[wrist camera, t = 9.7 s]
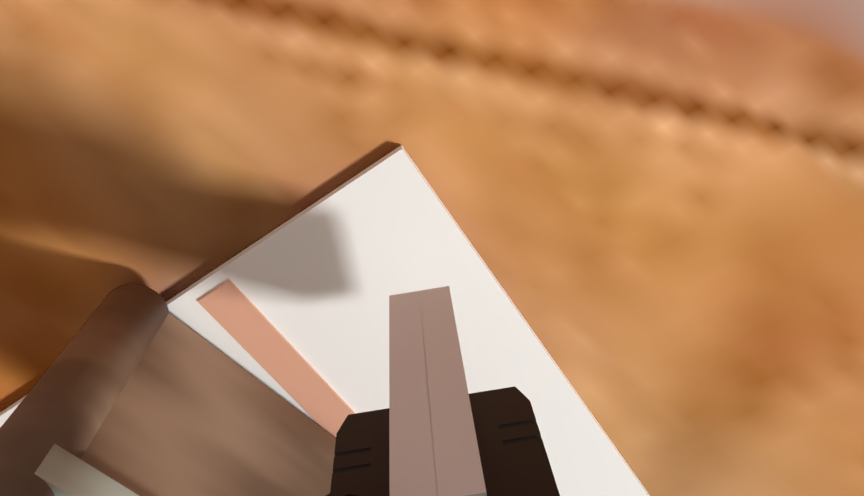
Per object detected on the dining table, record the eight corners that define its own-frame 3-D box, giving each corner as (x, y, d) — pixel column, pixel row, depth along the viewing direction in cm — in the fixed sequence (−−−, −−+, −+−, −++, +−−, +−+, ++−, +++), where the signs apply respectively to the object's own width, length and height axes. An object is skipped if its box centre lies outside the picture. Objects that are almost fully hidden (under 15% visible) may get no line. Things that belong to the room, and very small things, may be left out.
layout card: (347, 686, 28) (347, 698, 28) (-3, 414, 21) (-12, 424, 20) (674, 530, 25) (680, 541, 24) (401, 144, 17) (401, 150, 17)
